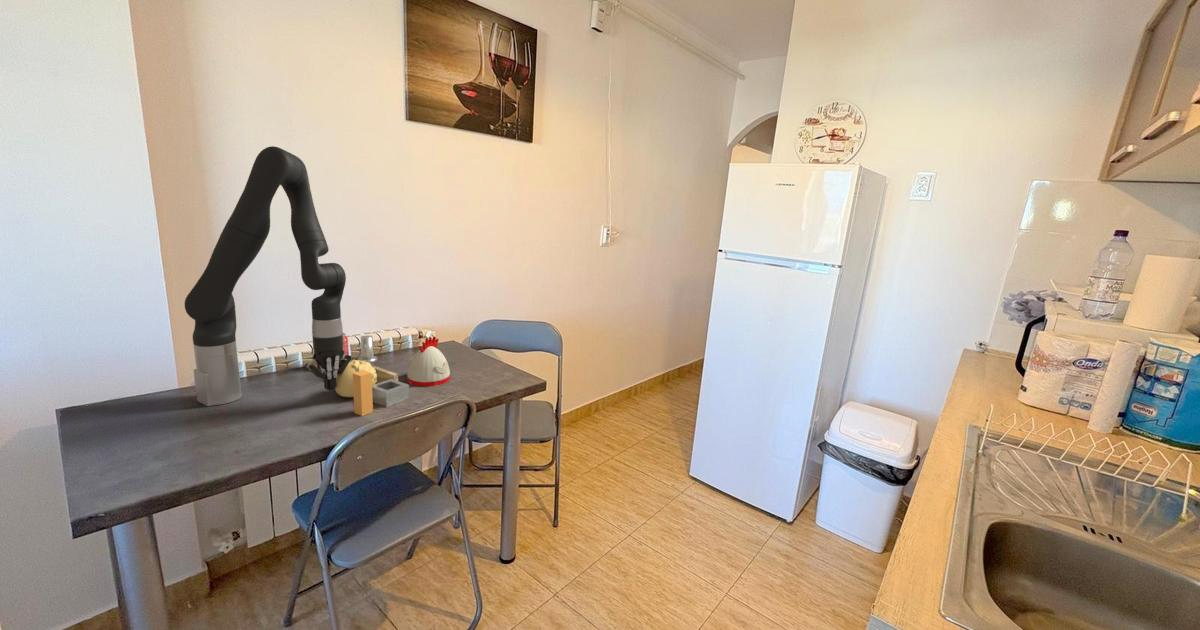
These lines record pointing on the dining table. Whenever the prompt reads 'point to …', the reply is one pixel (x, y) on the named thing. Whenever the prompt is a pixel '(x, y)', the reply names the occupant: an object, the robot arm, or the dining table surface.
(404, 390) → the grey open-top box
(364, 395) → the orange rectangular block
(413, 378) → the kitchen timer
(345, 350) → the soda can
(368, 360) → the ringlock post
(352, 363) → the sculpture
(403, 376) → the dining table surface
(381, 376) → the brown wooden plank
